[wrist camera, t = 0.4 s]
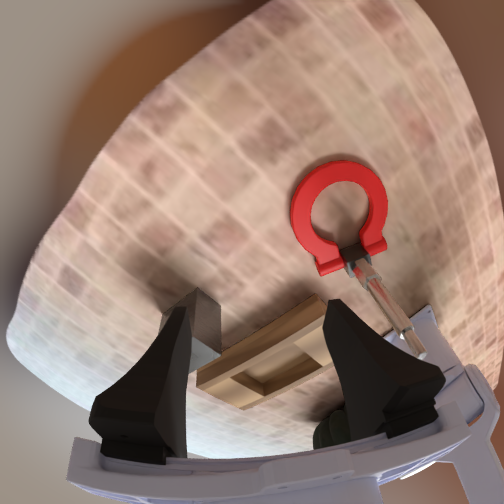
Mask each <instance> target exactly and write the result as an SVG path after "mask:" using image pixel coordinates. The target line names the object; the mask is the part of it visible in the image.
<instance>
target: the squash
mask: <svg viewBox="0 0 504 504" xmlns="http://www.w3.org/2000/svg"><path fill="white" fill-rule="evenodd" d="M349 442H351V435H350V427H349V420H348V414H347V409H346V404H345V406H344V407H343V411H342V410H336V411H334V412H333V413H332V414H331V415H330V417H328V418H326V419H325V420H323V421H322V422H321V423H320V424H319V425H318V426H317V427H316V429H315V431H314V435H313V448H314V450H316V449H321V448H326V447H331V446H336V445H340V444H345V443H349Z"/></svg>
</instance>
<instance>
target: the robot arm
mask: <svg viewBox="0 0 504 504" xmlns="http://www.w3.org/2000/svg"><path fill="white" fill-rule="evenodd" d="M409 320H410V321H411V323H412V324H413V325H414V327H415V331H414V333H415V334H416V336H417V337H418V339H419V340H420V342H421V343H422V345H423V346H424V348H425V349H426V351H427V356H426V357H425V358H424V359H422V360H421V359H418V358H416V357H415V356H414V354H413V353H412V351H411V349H410V348H409V346H408V345H407V343H406V341H405V340H402V339H400V338H399V336H398V335H397V333H396V332H395V330H393V331H391V332H390V333H389V334H387V335H386V336H384V337H381V336H380V335H379V334H378V333H376V332H375V331H374V330H373V329H371V328H370V327H369V326H368V325H367V324H366V323H365V322H364V321H362V320H361V319H360V318H359V317H358V316H357V315H356V314H355V313H354V312H353V311H352V310H351V309H350V308H349V307H348V306H347V305H346V304H345V303H344V302H342V301H341V300H340V299H333V300H329V302H328V306H327V310H326V314H325V318H324V322H323V326H322V329H323V334H324V338H325V342H326V345H327V348H328V351H329V353H330V356H331V358H332V361H333V364H334V366H335V369H336V371H337V374H338V377H339V380H340V383H341V386H342V390H343V395H344V399H345V404H346V409H347V414H348V420H349V427H350V435H351V442H349V443H345V444H340V445H336V446H331V447H326V448H321V449H316V450H310V451H304V452H298V453H291V454H283V455H275V456H265V457H252V458H234V459H191V458H187V445H186V388H187V381H188V374H189V367H190V359H191V352H192V332H191V326H190V321H189V315H188V309H187V306H182V307H174V308H173V310H172V312H171V314H170V316H169V318H168V320H167V321H166V323H165V325H164V326H163V328H162V330H161V331H160V333H159V334H158V336H157V337H156V339H155V340H154V342H153V343H152V344H151V346H150V347H149V349H148V350H147V351H146V352H145V354H144V355H143V356H142V357H141V358H140V360H139V361H138V362H137V363H136V364H135V365H134V366H133V367H132V368H131V369H130V370H129V371H128V372H127V373H126V374H125V375H124V376H123V377H122V378H120V379H119V380H118V381H117V382H116V383H115V384H113V385H112V386H111V387H109V388H108V389H106V390H105V391H104V392H102V393H101V394H99V395H98V396H96V398H95V400H94V403H93V405H92V409H91V412H90V417H89V424H90V426H91V427H92V428H93V429H94V430H95V431H96V432H97V433H98V434H99V435H100V436H101V437H102V444H100V443H98V442H96V441H92V440H87V439H83V438H79V437H75V438H74V442H73V447H72V451H71V456H70V461H69V467H68V473H67V478H66V480H67V481H68V482H70V483H72V484H73V485H75V486H77V487H79V488H81V489H83V490H85V491H87V492H89V493H91V494H95V495H98V496H102V497H106V498H110V499H114V500H118V501H123V502H127V503H132V504H383V500H382V496H381V493H380V489H379V485H381V484H384V483H386V482H389V481H391V480H394V479H396V478H398V477H401V476H403V475H405V474H407V473H410V472H412V471H414V470H416V469H418V468H420V467H422V466H424V465H426V464H428V463H430V462H432V461H434V462H450V463H453V464H454V466H455V468H456V471H457V473H458V475H459V478H460V480H461V483H462V485H463V488H464V491H465V493H466V496H467V498H468V501H469V504H504V470H503V468H502V465H501V463H500V461H499V459H498V456H497V454H496V452H495V450H494V448H493V446H492V443H491V441H490V437H491V434H492V432H493V430H494V428H495V425H496V423H497V421H498V418H499V415H500V406H499V404H498V402H497V400H496V398H495V395H494V393H493V391H492V389H491V387H490V385H489V383H488V382H487V380H486V379H485V377H484V376H483V374H482V373H481V371H480V370H479V369H478V367H477V366H476V365H474V364H468V365H466V366H463V365H462V363H461V361H460V360H459V358H458V357H457V355H456V354H455V352H454V351H453V349H452V348H451V346H450V345H449V343H448V342H447V340H446V339H445V337H444V336H443V334H442V333H441V331H440V330H439V329H438V325H437V322H436V319H435V316H434V313H433V310H432V307H431V306H430V305H427V306H426V307H424V308H423V309H422V310H420V311H419V312H418V313H416V314H415V315H414V316H412V317H411V318H410V319H409ZM481 413H483V415H482V416H481V418H480V419H479V420H478V421H477V422H476V423H474V424H473V425H472V426H471V427H468V425H467V424H469V423H470V422H471V421H473V420H474V419H475V418H477V417H478V416H479V415H480V414H481Z"/></svg>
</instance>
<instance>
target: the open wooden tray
mask: <svg viewBox="0 0 504 504" xmlns="http://www.w3.org/2000/svg"><path fill="white" fill-rule="evenodd" d="M326 310H327V306H326V304H325V303H324V302H323V301H322V300H321V299H320V298H319V297H318V295H317V294H314V295H313V296H311V297H310V298H308V299H307V300H305V301H304V302H302V303H301V304H299V305H298V306H296V307H295V308H293V309H291V310H290V311H288V312H287V313H285V314H284V315H282V316H281V317H279V318H277V319H276V320H274V321H273V322H271V323H270V324H268V325H266V326H265V327H263V328H262V329H260V330H258V331H257V332H255V333H253V334H252V335H250V336H248V337H247V338H245V339H244V340H242V341H240V342H238V343H237V344H235V345H233V346H232V347H230V348H228V349H227V350H225V351H223V352H221V355H222V356H220V357H218V358H216V359H215V360H213V361H211V362H209V363H208V364H206V365H204V366H202V367H200V368H198V369H197V381H196V387H197V388H199V389H201V390H202V391H204V392H206V393H208V394H210V395H212V396H214V397H216V398H218V399H220V400H222V401H224V402H226V403H229V404H231V405H233V406H235V407H237V408H239V409H241V410H246V409H249V408H251V407H253V406H255V405H258V404H260V403H262V402H265V401H267V400H269V399H271V398H273V397H275V396H278V395H280V394H282V393H284V392H286V391H288V390H290V389H292V388H294V387H296V386H298V385H300V384H302V383H304V382H306V381H308V380H310V379H311V378H313V377H315V376H317V375H319V374H321V373H323V372H324V371H326V370H328V369H330V368H332V367H333V366H334V364H333V361H332V358H331V356H330V353H329V351H328V348H327V345H326V342H325V338H324V334H323V329H322V326H323V322H324V318H325V314H326Z"/></svg>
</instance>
